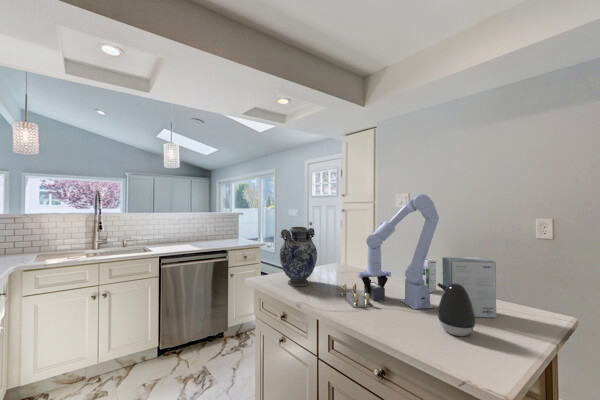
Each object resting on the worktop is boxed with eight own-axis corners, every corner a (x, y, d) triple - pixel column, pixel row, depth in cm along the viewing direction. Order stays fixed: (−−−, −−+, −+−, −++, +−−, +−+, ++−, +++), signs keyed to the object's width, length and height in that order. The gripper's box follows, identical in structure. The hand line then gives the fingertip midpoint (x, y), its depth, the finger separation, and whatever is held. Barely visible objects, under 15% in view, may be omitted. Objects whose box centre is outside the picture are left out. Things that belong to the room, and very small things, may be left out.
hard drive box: (484, 310, 103) (484, 257, 103) (497, 318, 95) (497, 261, 95) (441, 308, 104) (442, 256, 105) (451, 316, 97) (451, 260, 97)
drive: (384, 300, 112) (384, 288, 112) (373, 301, 111) (373, 288, 111) (374, 293, 121) (374, 281, 121) (364, 293, 120) (364, 282, 120)
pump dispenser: (441, 321, 92) (441, 277, 92) (477, 331, 86) (477, 283, 86) (433, 332, 84) (433, 283, 84) (472, 344, 78) (472, 291, 78)
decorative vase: (302, 275, 149) (303, 224, 149) (326, 284, 135) (327, 227, 135) (269, 282, 136) (270, 227, 135) (292, 293, 121) (293, 230, 121)
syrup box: (417, 289, 127) (417, 258, 127) (426, 287, 130) (426, 257, 130) (427, 293, 122) (427, 260, 122) (436, 291, 124) (436, 259, 125)
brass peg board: (373, 306, 105) (373, 294, 105) (353, 308, 104) (353, 296, 104) (356, 293, 121) (356, 282, 121) (339, 294, 119) (339, 283, 119)
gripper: (385, 259, 122) (384, 289, 121) (354, 260, 119) (354, 291, 119) (393, 263, 115) (393, 295, 115) (361, 264, 112) (361, 297, 112)
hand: (374, 293), depth 116 cm, fingers closed on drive, 5 cm apart
